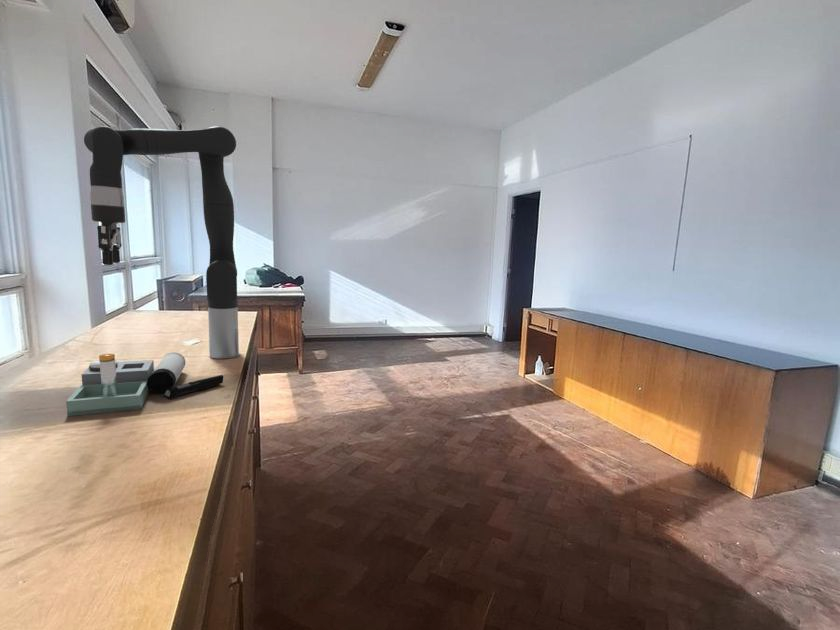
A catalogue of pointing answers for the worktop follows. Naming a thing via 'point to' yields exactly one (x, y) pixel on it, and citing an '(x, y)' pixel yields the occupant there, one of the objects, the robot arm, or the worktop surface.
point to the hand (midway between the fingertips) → (111, 263)
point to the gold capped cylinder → (108, 375)
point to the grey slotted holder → (120, 372)
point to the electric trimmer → (192, 386)
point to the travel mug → (166, 373)
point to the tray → (107, 399)
